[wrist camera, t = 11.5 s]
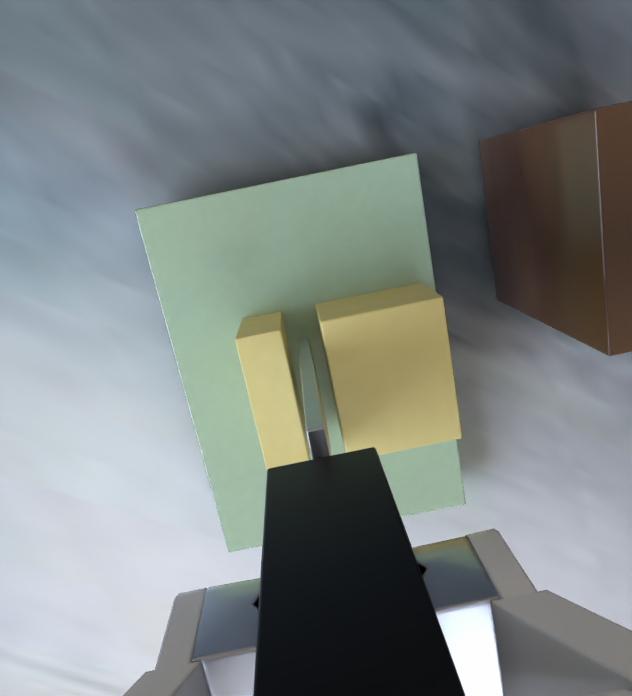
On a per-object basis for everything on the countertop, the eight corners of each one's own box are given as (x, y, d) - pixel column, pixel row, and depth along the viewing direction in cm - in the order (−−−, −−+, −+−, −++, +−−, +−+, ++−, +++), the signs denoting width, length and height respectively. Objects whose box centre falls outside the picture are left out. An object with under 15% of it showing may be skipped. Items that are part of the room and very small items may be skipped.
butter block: (314, 303, 21) (319, 321, 18) (421, 282, 21) (443, 296, 18) (339, 427, 22) (347, 462, 19) (439, 406, 22) (463, 438, 19)
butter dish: (141, 209, 21) (133, 209, 20) (410, 154, 21) (417, 152, 20) (230, 539, 24) (228, 553, 23) (458, 492, 24) (466, 504, 23)
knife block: (478, 140, 21) (594, 108, 13) (613, 113, 21) (810, 64, 13) (496, 300, 22) (608, 357, 14) (621, 274, 22) (800, 317, 14)
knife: (268, 344, 20) (229, 751, 5) (336, 330, 20) (480, 701, 5) (289, 435, 21) (303, 993, 6) (354, 422, 21) (516, 949, 6)
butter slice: (241, 318, 21) (234, 338, 18) (281, 310, 21) (280, 329, 18) (270, 441, 22) (268, 478, 19) (308, 433, 22) (311, 469, 19)
